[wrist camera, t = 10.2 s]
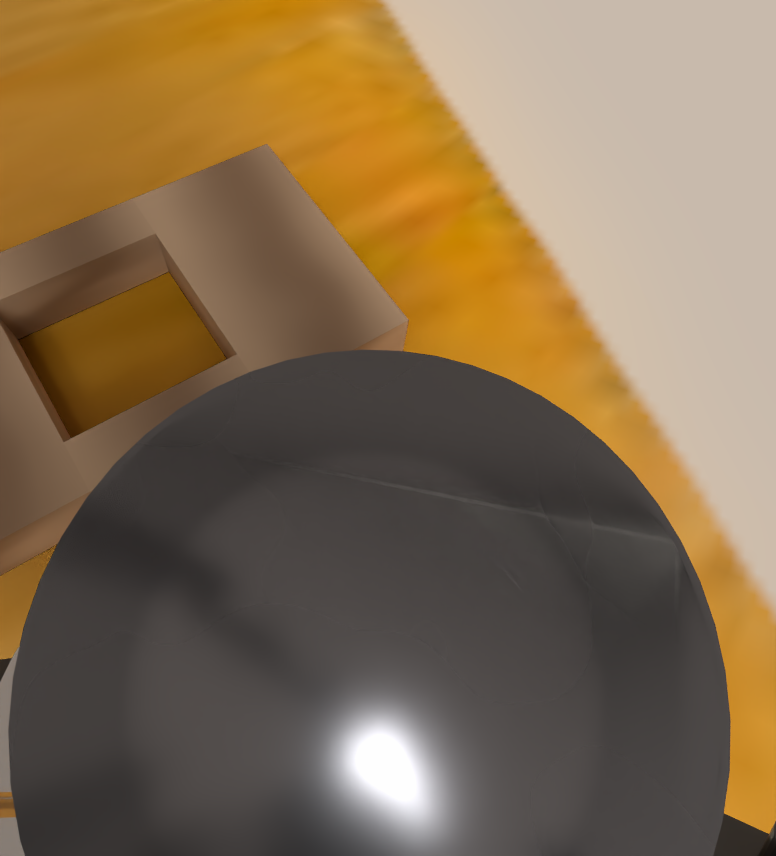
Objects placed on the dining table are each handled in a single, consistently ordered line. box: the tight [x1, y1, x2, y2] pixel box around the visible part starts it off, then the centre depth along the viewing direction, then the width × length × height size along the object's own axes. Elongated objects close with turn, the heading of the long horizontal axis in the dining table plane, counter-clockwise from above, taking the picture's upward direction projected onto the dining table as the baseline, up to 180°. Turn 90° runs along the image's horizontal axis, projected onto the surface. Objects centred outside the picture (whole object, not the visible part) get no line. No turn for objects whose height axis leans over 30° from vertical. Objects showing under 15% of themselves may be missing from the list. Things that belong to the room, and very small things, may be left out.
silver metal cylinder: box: [8, 350, 730, 856], centre depth 10 cm, size 4×4×14 cm
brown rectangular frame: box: [0, 144, 409, 576], centre depth 21 cm, size 16×9×2 cm, turn 124°
